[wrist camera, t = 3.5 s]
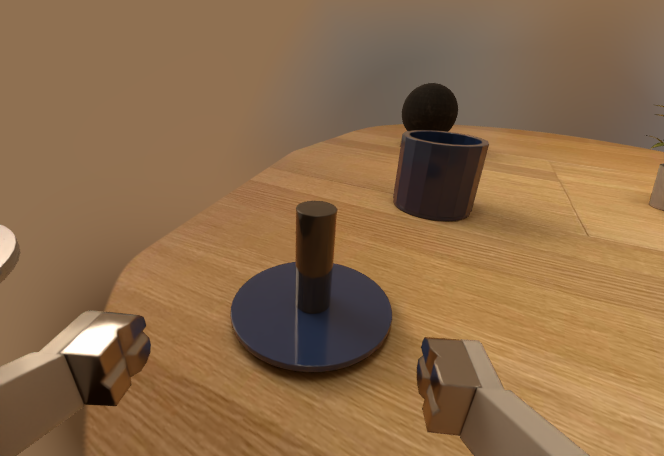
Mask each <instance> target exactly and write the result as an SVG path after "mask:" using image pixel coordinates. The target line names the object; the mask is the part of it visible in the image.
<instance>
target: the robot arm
mask: <svg viewBox="0 0 664 456" xmlns="http://www.w3.org/2000/svg"><path fill="white" fill-rule="evenodd" d="M145 327H146V323H145V320H144V317H142V316H140V315H133V314H123V313H113V312H98V311H87V312H84V313H82V314H81V315H80V316H79V317H78V318H76V319H75V320H74V321H73V322H72V323H71V324H70V325H69V326H68V327H66V328H65V329H64V330H63V331H62V332H61V333H60V334H59V335H57V336H56V337H55V338H54V339H53V340H52V341H51V342H50V343H48V345H46V346H45V347H44V348H43V349H42V350H41V351H40V352H38V353H37V352H32V353H30V354H27V355H25V356H23V357H21V358H18V359H16V360H14V361H12V362H10V363H8V364H5V365H3V366H1V367H0V456H17V455H18V454H19V453H21V452H22V451H23V450H25V449H26V448H28V447H29V446H30V445H32V444H33V443H34V442H35V441H37V440H39V439H40V438H41V437H43V436H44V435H46V434H47V433H48V432H49V431H51V430H52V429H54V428H55V427H57V426H58V425H59V424H61V423H62V422H63V421H65V420H66V419H68V418H69V417H70V416H72V415H73V414H75V413H76V412H77V411H79V410H80V409H81V408H83V407H84V404H85V405H104V406H117V404H118V403H119V402H120V400H121V399H122V397H123V396H124V395H125V393H126V392H127V390H128V389H129V387H130V386H131V377H132V376H134V375H135V374H137V373H139V372H140V371H141V370H142V369H143V367H144V366H145V364H146V363H147V360H148V357H149V354H150V346H151V344H150V339H149V337H148V336H147V335H146V334H145V333H144V332H143V330H144V328H145ZM421 348H422V353H423V356H422V357H420V358H419V359H418V364H417V386H418V391H419V394H420V395H421V396H422V397H423V398H424V403H423V407H422V410H423V414H424V419H425V423H426V428H427V432H431V433H440V434H449V435H457V436H460V438H461V440H462V441H463V442H464V444H465V445H466V446H467V447H468V449H469V450H470V451H471V453H472V454H473V455H474V456H589V455H588V454H587V453H586V452H585V451H583V450H582V449H581V448H580V447H579V446H577V445H576V444H575V443H574V442H572V441H571V440H570V439H569V438H568V437H566V436H565V435H564V434H563V433H562V432H560V431H559V430H558V429H557V428H555V427H554V426H553V425H552V424H551V423H549V422H548V421H547V420H546V419H544V418H543V417H542V416H541V415H540V414H538V413H537V412H536V411H535V410H534V409H532V408H531V407H530V406H529V405H527V404H526V403H525V402H524V401H523V400H521V399H520V398H519V397H518V396H517V395H515V394H514V393H513V392H512V391H510V390H504V388H503V385H502V383H501V381H500V379H499V377H498V375H497V373H496V371H495V369H494V367H493V365H492V363H491V361H490V359H489V357H488V355H487V353H486V351H485V349H484V347H483V345H482V343H481V342H480V341H478V340H462V339H460V340H459V339H445V338H430V337H425V338H424V340H423V342H422V346H421Z"/></svg>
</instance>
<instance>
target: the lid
mask: <svg viewBox="0 0 664 456" xmlns="http://www.w3.org/2000/svg"><path fill="white" fill-rule="evenodd" d="M336 217H337V208H336V207H335V206H334V205H333V204H330V203H327V202H323V201H307V202H303V203H300V204H299V205H297V207H296V262H292V263H286V264H282V265H278V266H275V267H272V268H269V269H267V270H264V271H262V272H260V273H258V274H257V275H255V276H254V277H252V278H251V279H249V280H248V281H247V282H246V283H245V284H244V285H243V286H242V287H241V288H240V289H239V291H238V292H237V294H236V295H235V298H234V300H233V302H232V306H231V323H232V328H233V330H234V333H235V335H236V337H237V339H238V340H239V342H240V343H241V344H242V345H243V346H244V347H245V349H247V350H248V351H249V352H250V353H251V354H253V355H254V356H256V357H257V358H259V359H260V360H262V361H264V362H266V363H269V364H271V365H273V366H277V367H280V368H283V369H287V370H293V371H300V372H325V371H332V370H337V369H341V368H345V367H348V366H351V365H353V364H356V363H358V362H360V361H362V360H363V359H365V358H367V357H368V356H370V355H371V354H372V353H374V352H375V351H376V350H377V349H378V348H379V347H380V346H381V345H382V343H383V342H384V340H385V339H386V338H387V335H388V333H389V331H390V326H391V321H392V310H391V305H390V302H389V300H388V298H387V296H386V294H385V293H384V291H383V290H382V289H381V288H380V286H379V285H377V284H376V283H375V282H374V281H373V280H372V279H370V278H369V277H367V276H366V275H364V274H362V273H360V272H358V271H356V270H354V269H351V268H349V267H346V266H342V265H339V264H334V263H333V260H334V245H335V231H336Z"/></svg>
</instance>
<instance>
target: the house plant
mask: <svg viewBox="0 0 664 456" xmlns="http://www.w3.org/2000/svg"><path fill="white" fill-rule="evenodd" d="M659 106H660V105H659ZM662 107H664V106H662ZM661 116H664V115H661ZM657 139H658V138H657ZM658 140H659V139H658ZM659 141H660V142H661V143H657V144H656V145H654V146H653V147H652V148H654V147H658V146H664V143H663V142H662V141H661V140H659ZM649 205H651V206H652V207H655V208H657V209H660V210H663V211H664V164H660V166H659V169H658V173H657V177H656V180H655V184H654V187H653V191H652V194H651V198H650V202H649Z"/></svg>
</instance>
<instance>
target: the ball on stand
mask: <svg viewBox="0 0 664 456" xmlns="http://www.w3.org/2000/svg"><path fill="white" fill-rule="evenodd" d="M457 114H458V105H457V101H456V98H455V96H454V94H453V93H452V92H451V90H450V89H448V88H447V87H445V86H443V85H441V84H436V83H428V84H424V85H422V86H420V87H417V88H416V89H415V90H413V91H412V92H411V93H410V94H409V96H408V97H407V98H406V100H405V103H404V105H403V109H402V120H403V124H404V126H405V128H406V130H407V131H413V130H432V131H444V132H448V131H449V130H450V129H451V128H452V126H453V125H454V123H455V121H456V118H457Z"/></svg>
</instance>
